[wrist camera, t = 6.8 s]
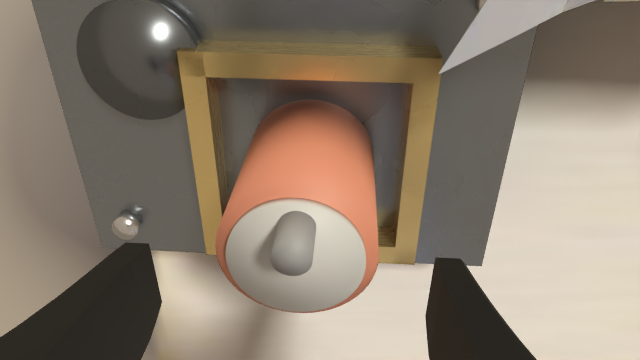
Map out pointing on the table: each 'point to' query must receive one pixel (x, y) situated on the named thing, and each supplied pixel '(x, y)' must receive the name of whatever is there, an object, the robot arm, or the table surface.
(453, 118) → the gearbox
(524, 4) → the ornate book
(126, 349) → the robot arm
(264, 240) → the spout can
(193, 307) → the table surface
